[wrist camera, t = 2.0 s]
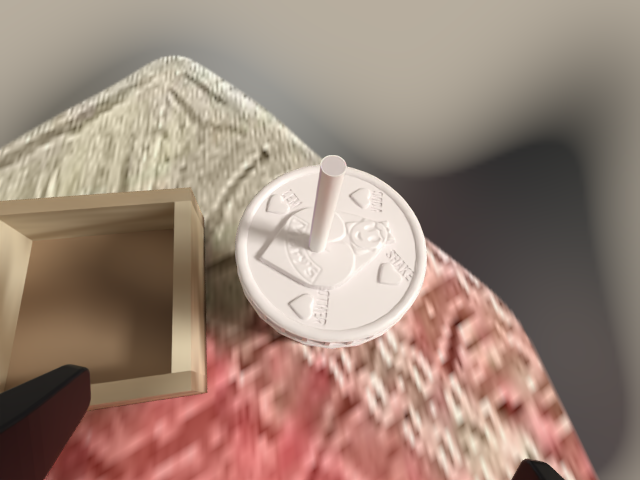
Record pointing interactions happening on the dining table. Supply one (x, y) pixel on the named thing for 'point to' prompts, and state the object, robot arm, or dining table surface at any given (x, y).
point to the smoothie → (330, 255)
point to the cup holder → (105, 293)
